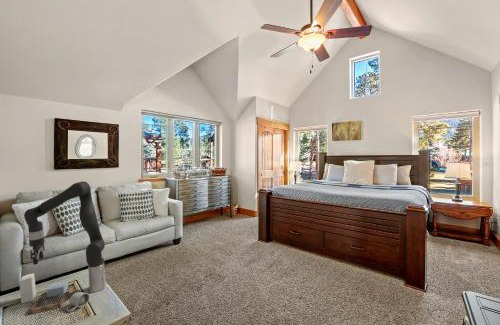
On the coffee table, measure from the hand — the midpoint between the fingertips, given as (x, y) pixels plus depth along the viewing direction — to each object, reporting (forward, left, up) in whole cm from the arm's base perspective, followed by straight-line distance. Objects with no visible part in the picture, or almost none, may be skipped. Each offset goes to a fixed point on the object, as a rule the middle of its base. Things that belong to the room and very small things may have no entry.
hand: (38, 261), depth 153 cm
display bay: (-10, +15, -23) cm, 29 cm away
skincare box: (+5, +3, -23) cm, 24 cm away
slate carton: (-10, +2, -23) cm, 25 cm away
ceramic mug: (-27, +25, -23) cm, 43 cm away
